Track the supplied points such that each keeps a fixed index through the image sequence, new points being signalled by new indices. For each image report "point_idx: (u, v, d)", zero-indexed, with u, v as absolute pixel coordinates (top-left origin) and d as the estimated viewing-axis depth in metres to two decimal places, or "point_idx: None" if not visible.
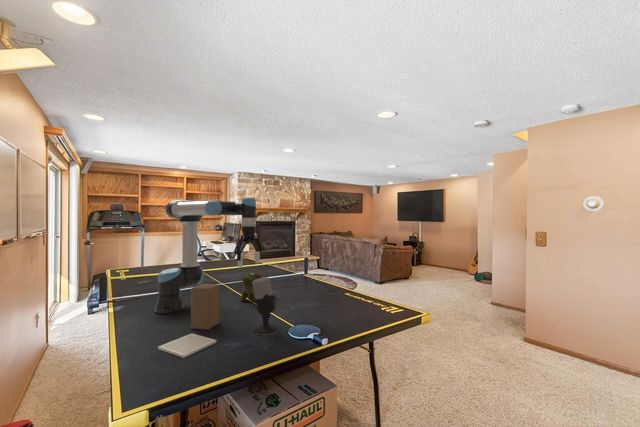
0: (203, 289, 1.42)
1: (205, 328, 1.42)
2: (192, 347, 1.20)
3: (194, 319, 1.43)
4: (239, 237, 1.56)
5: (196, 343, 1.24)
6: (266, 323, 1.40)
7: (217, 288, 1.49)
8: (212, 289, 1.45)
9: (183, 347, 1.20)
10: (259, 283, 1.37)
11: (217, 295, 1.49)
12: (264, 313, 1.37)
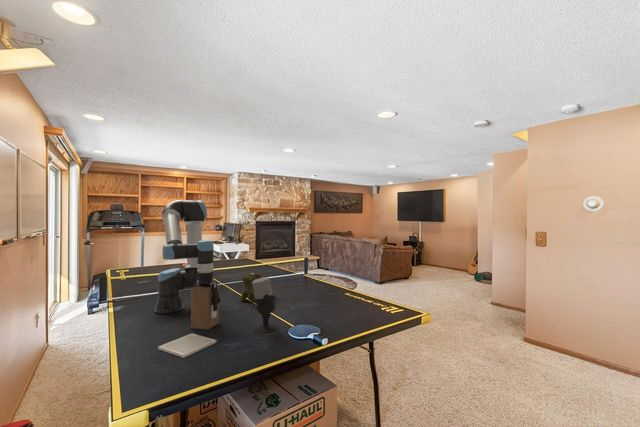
0: (203, 289, 1.42)
1: (205, 328, 1.42)
2: (192, 347, 1.20)
3: (194, 319, 1.43)
4: None
5: (196, 343, 1.24)
6: (266, 323, 1.40)
7: (217, 288, 1.49)
8: None
9: (183, 347, 1.20)
10: (259, 283, 1.37)
11: None
12: (264, 313, 1.37)
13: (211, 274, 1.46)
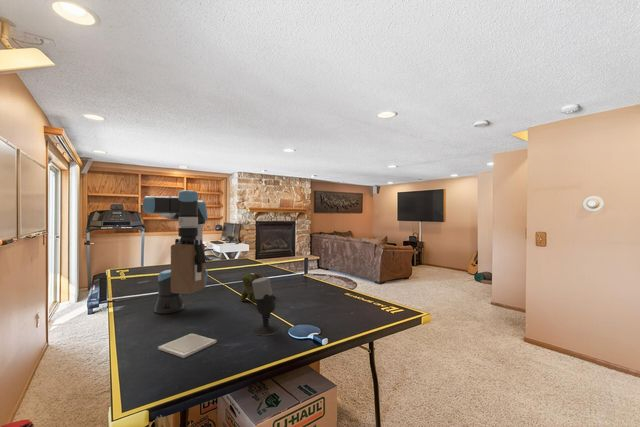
0: (185, 246, 1.20)
1: (187, 292, 1.19)
2: (192, 347, 1.20)
3: (174, 282, 1.21)
4: None
5: (196, 343, 1.24)
6: (266, 323, 1.40)
7: (202, 247, 1.27)
8: None
9: (183, 347, 1.20)
10: (259, 283, 1.37)
11: None
12: (264, 313, 1.37)
13: (195, 230, 1.24)
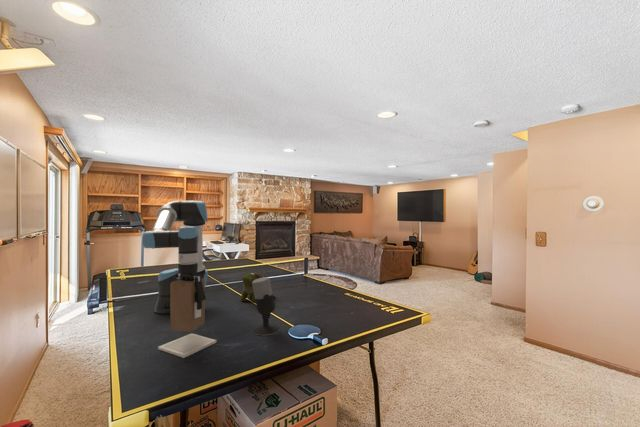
0: (185, 283, 1.20)
1: (187, 330, 1.19)
2: (192, 347, 1.20)
3: (174, 320, 1.20)
4: None
5: (196, 343, 1.24)
6: (266, 323, 1.40)
7: (202, 282, 1.26)
8: None
9: (183, 347, 1.20)
10: (259, 283, 1.37)
11: None
12: (264, 313, 1.37)
13: (195, 266, 1.24)
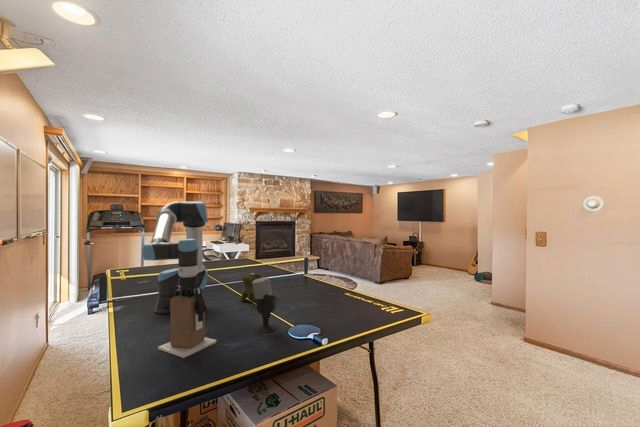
0: (184, 300, 1.20)
1: (186, 346, 1.19)
2: (192, 347, 1.20)
3: (174, 336, 1.20)
4: None
5: None
6: (266, 323, 1.40)
7: None
8: (195, 300, 1.22)
9: (183, 347, 1.20)
10: (259, 283, 1.37)
11: None
12: (264, 313, 1.37)
13: (195, 279, 1.24)
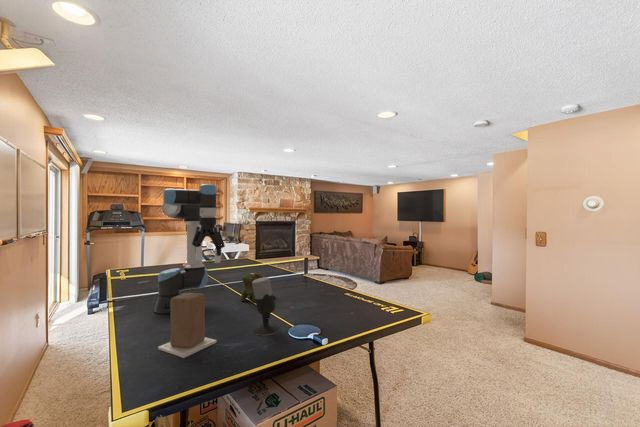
0: (184, 300, 1.20)
1: (186, 346, 1.19)
2: (192, 347, 1.20)
3: (174, 336, 1.20)
4: None
5: None
6: (266, 323, 1.40)
7: (202, 298, 1.26)
8: (195, 300, 1.22)
9: (183, 347, 1.20)
10: (259, 283, 1.37)
11: (202, 306, 1.26)
12: (264, 313, 1.37)
13: (214, 219, 1.40)
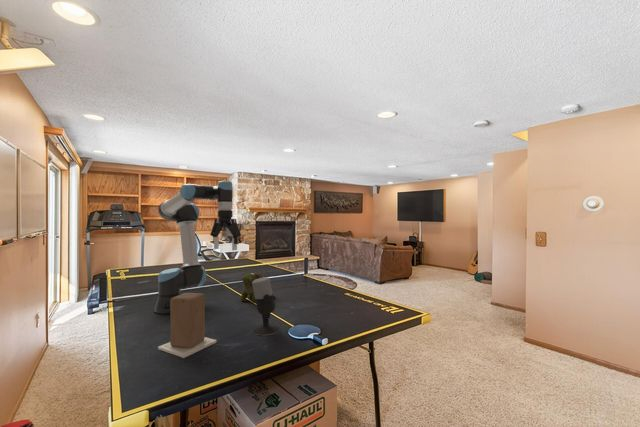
0: (184, 300, 1.20)
1: (186, 346, 1.19)
2: (192, 347, 1.20)
3: (174, 336, 1.20)
4: None
5: None
6: (266, 323, 1.40)
7: (202, 298, 1.26)
8: (195, 300, 1.22)
9: (183, 347, 1.20)
10: (259, 283, 1.37)
11: (202, 306, 1.26)
12: (264, 313, 1.37)
13: (231, 212, 1.58)
